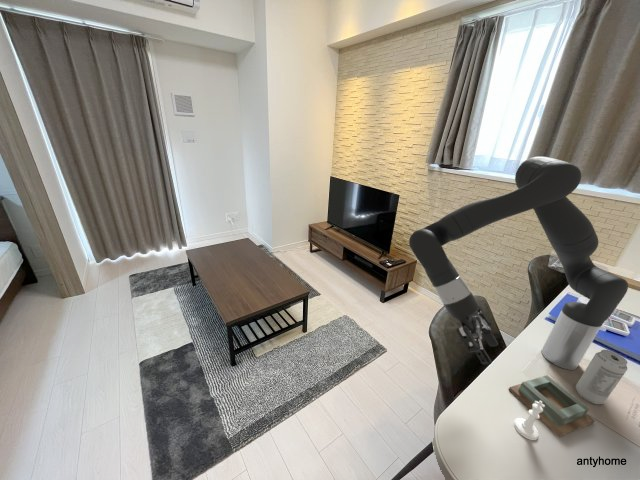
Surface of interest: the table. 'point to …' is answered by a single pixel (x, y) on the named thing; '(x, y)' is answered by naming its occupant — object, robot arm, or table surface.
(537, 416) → the chess piece
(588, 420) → the socket board
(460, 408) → the table surface
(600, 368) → the energy drink can
